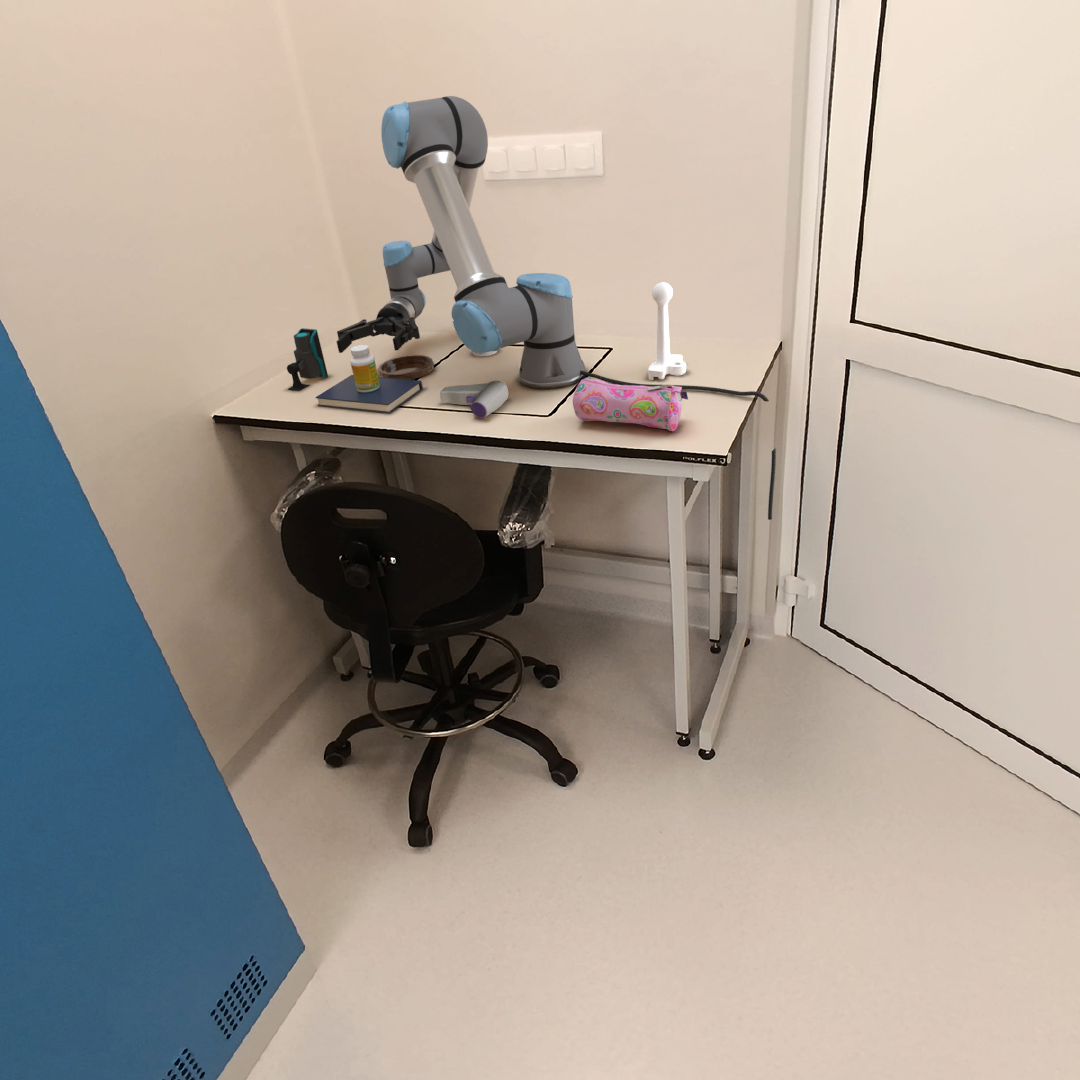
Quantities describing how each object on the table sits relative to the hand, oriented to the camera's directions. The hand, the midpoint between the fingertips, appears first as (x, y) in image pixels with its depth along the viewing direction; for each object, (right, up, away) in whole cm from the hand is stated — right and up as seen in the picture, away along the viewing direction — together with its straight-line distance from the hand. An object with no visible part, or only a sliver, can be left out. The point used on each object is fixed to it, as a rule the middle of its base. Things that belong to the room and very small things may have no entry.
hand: (367, 346), depth 183 cm
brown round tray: (+7, -3, +15) cm, 17 cm away
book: (0, -11, +3) cm, 12 cm away
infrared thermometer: (+24, -16, -9) cm, 30 cm away
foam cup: (+26, +4, +22) cm, 34 cm away
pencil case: (+58, -21, -23) cm, 65 cm away
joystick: (+69, -7, -2) cm, 69 cm away
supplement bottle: (0, -10, +2) cm, 10 cm away
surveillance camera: (-18, -6, +15) cm, 24 cm away
